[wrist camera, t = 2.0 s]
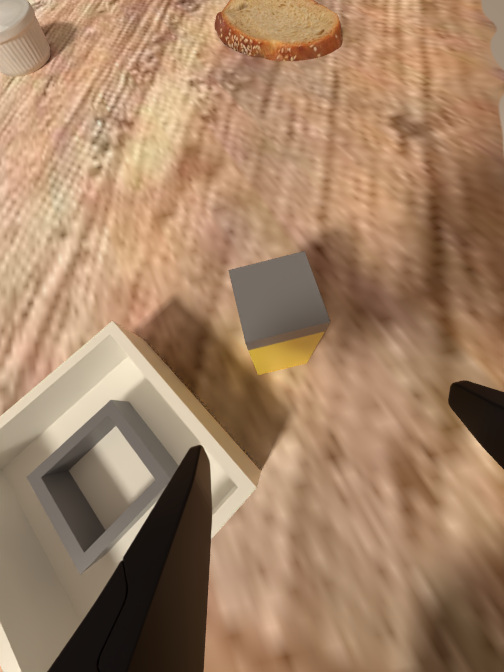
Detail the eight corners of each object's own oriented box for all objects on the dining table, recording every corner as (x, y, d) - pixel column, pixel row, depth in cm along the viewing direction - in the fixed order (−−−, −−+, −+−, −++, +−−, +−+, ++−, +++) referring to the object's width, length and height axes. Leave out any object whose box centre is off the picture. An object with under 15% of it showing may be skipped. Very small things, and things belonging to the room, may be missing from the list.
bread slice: (348, 53, 36) (355, 14, 33) (228, 81, 37) (224, 46, 33) (314, -5, 42) (318, -43, 39) (212, 20, 43) (206, -16, 39)
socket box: (261, 471, 20) (256, 487, 15) (99, 652, 17) (31, 742, 12) (144, 339, 24) (112, 320, 20) (1, 466, 22) (-75, 480, 17)
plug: (306, 363, 22) (330, 321, 13) (258, 375, 22) (245, 342, 13) (292, 318, 24) (304, 251, 14) (247, 329, 24) (228, 270, 14)
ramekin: (-11, 87, 42) (-50, 42, 37) (2, 50, 45) (-32, 4, 40) (53, 74, 41) (22, 27, 36) (61, 38, 45) (34, -10, 40)
